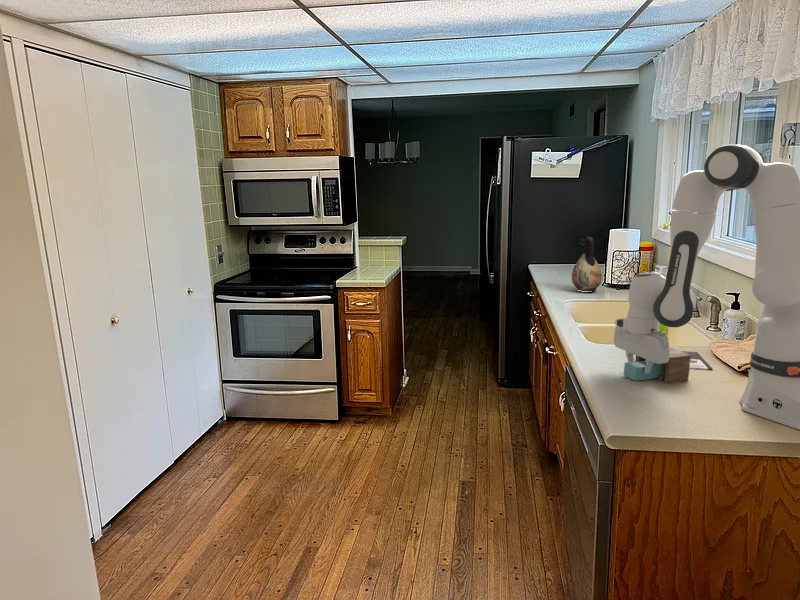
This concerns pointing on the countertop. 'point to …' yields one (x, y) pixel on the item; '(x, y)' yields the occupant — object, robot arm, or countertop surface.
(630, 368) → the case
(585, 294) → the countertop surface
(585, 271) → the ceramic jug
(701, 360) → the chocolate bar
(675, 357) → the shelf
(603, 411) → the countertop surface
